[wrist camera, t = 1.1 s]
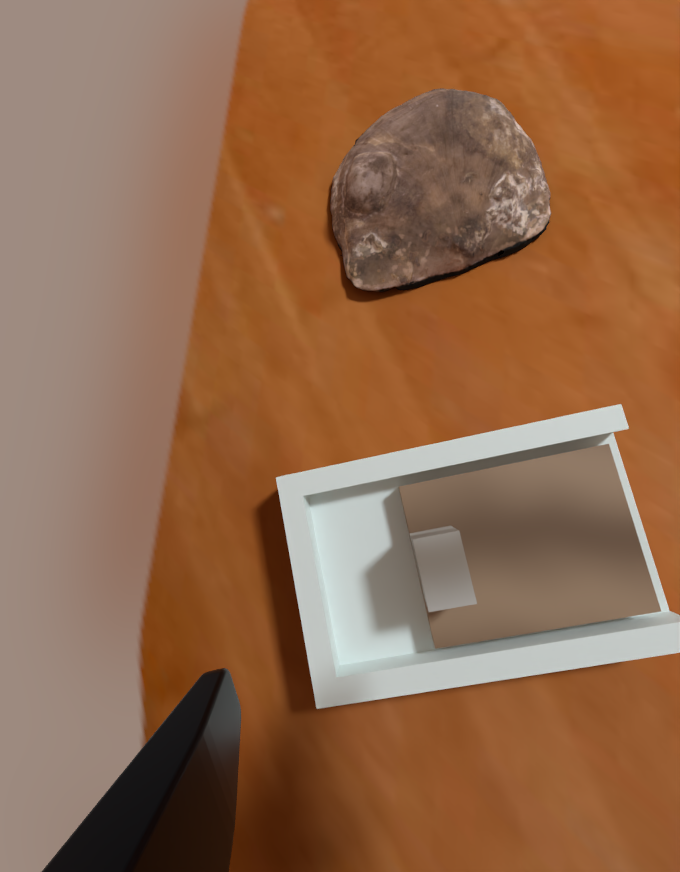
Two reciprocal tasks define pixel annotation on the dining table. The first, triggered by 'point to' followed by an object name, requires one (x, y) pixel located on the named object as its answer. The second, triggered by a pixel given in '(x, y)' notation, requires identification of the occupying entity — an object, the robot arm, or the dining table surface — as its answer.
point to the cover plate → (526, 548)
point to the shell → (437, 192)
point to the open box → (399, 583)
